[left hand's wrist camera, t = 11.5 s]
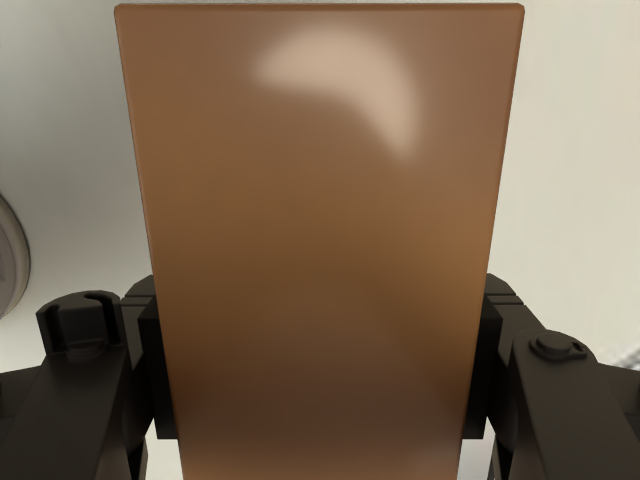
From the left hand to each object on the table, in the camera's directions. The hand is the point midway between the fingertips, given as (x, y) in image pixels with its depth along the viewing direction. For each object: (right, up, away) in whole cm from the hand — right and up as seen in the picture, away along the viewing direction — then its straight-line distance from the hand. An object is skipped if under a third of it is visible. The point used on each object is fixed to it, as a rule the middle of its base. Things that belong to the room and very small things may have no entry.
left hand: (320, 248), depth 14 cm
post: (0, -24, +10) cm, 26 cm away
